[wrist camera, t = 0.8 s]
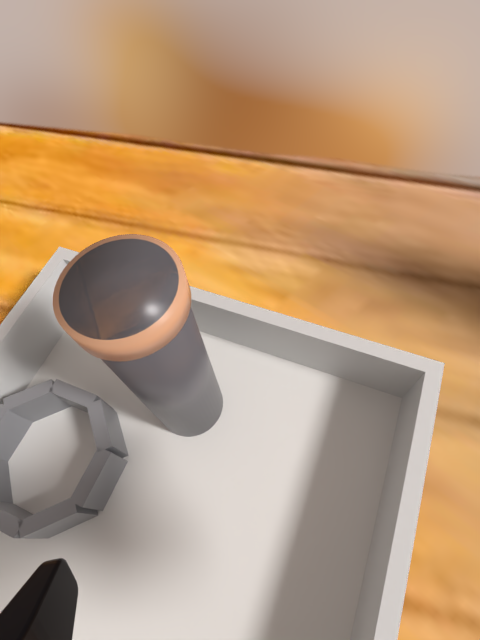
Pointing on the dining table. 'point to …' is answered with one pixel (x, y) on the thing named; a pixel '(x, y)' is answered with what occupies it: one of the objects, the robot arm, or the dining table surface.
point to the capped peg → (142, 327)
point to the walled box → (216, 479)
